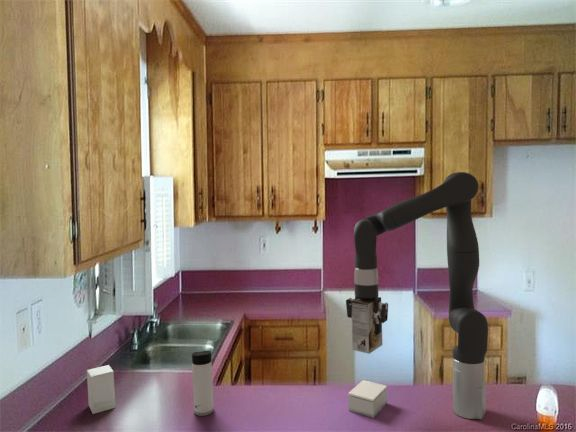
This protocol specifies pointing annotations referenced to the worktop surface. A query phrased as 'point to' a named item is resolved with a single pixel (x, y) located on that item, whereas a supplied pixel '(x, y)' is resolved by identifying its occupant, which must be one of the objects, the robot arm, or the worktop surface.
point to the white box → (367, 405)
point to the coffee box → (365, 326)
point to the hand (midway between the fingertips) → (367, 332)
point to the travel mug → (202, 383)
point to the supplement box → (101, 389)
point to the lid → (367, 390)
